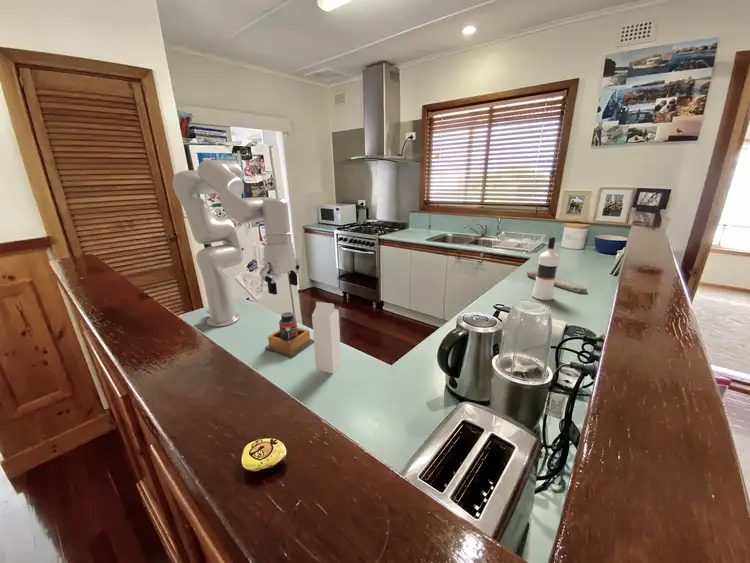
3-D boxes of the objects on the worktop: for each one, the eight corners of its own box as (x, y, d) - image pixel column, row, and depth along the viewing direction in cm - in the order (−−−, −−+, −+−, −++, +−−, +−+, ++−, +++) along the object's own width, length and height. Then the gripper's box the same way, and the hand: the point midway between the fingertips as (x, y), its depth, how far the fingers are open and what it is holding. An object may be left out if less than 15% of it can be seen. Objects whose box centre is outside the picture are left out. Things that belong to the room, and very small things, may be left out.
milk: (324, 360, 103) (320, 298, 96) (341, 363, 101) (338, 300, 94) (315, 370, 97) (310, 305, 90) (333, 374, 95) (329, 307, 89)
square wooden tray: (265, 349, 109) (263, 337, 108) (289, 335, 119) (288, 323, 118) (291, 358, 104) (289, 345, 102) (314, 342, 114) (313, 330, 112)
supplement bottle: (294, 348, 108) (291, 318, 105) (278, 346, 109) (274, 317, 106) (301, 339, 114) (298, 311, 110) (286, 338, 115) (283, 310, 111)
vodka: (528, 294, 158) (537, 235, 148) (546, 294, 158) (556, 235, 148) (537, 301, 149) (548, 239, 140) (556, 300, 149) (568, 238, 140)
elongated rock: (577, 298, 157) (590, 296, 161) (580, 288, 155) (593, 286, 159) (521, 275, 186) (533, 274, 190) (523, 267, 185) (535, 266, 189)
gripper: (288, 233, 108) (293, 280, 114) (248, 242, 94) (255, 295, 99) (305, 235, 105) (309, 283, 110) (266, 245, 90) (272, 299, 96)
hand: (283, 289), depth 105 cm, fingers open, 9 cm apart
